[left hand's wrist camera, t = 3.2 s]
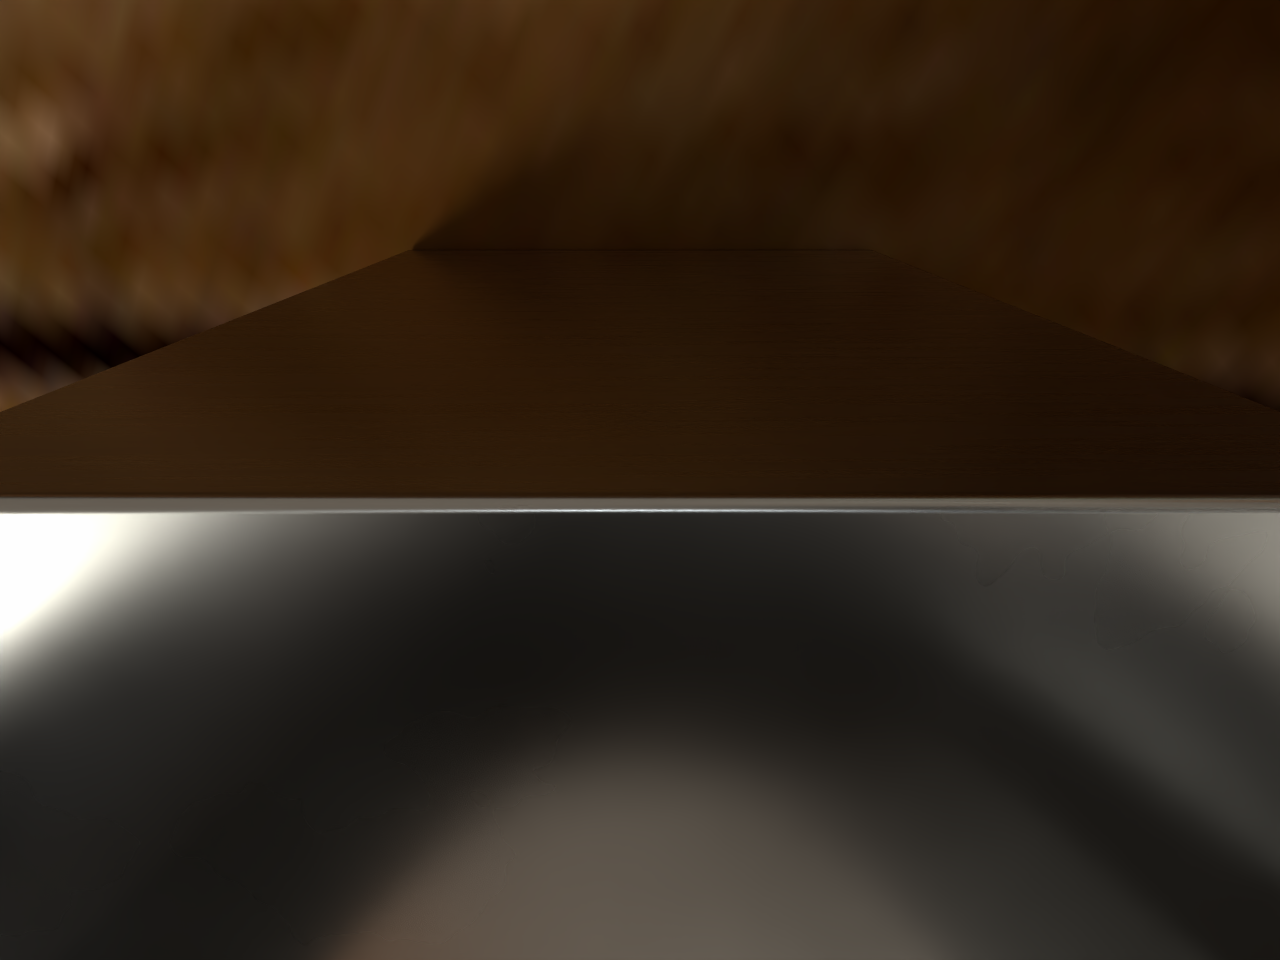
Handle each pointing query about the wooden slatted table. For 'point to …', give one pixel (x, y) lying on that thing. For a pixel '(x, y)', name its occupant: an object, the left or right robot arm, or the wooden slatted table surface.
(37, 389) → the wooden slatted table surface
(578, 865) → the box
